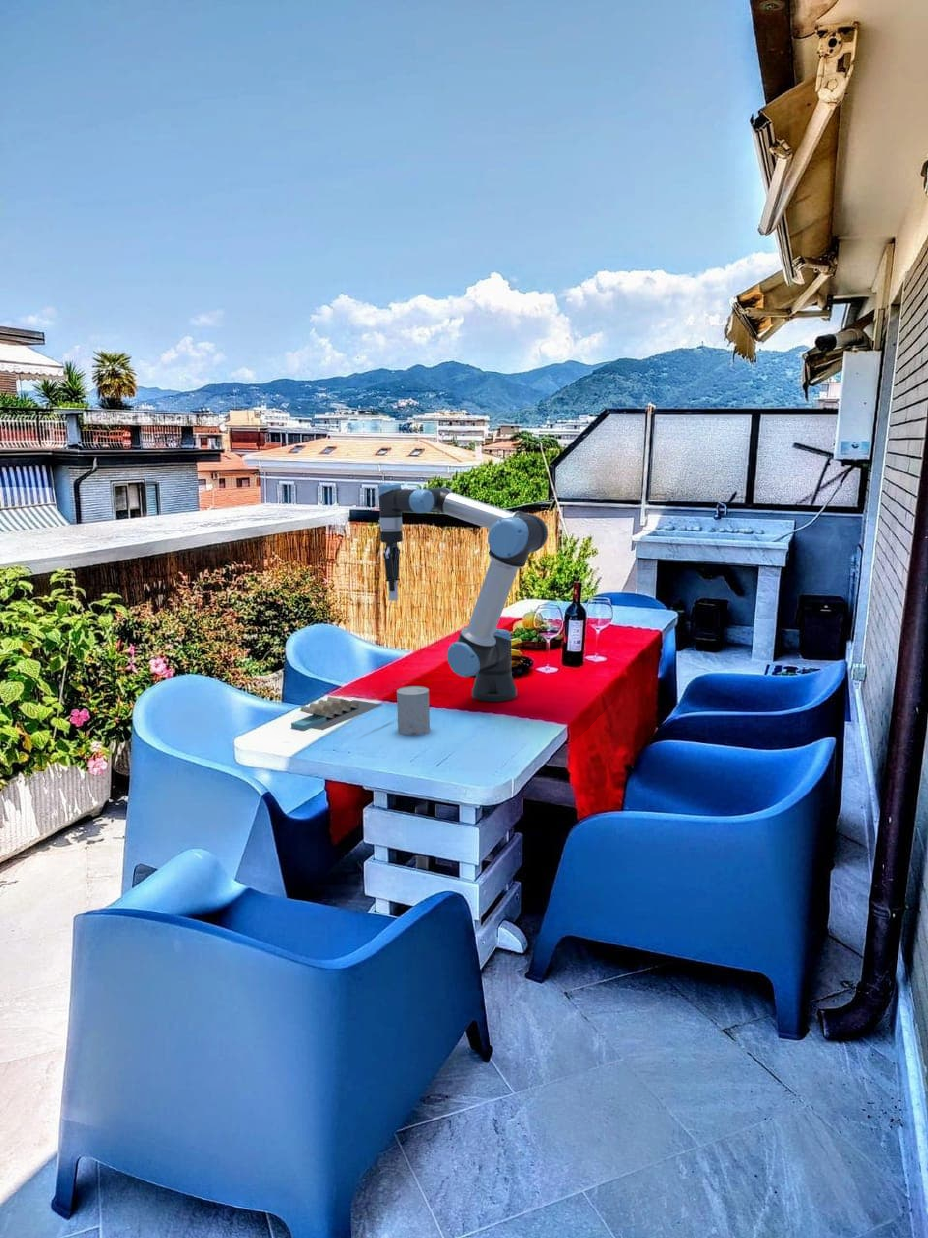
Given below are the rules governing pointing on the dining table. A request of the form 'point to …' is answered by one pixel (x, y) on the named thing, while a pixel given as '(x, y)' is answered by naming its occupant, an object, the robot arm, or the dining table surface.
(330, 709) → the domino
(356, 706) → the domino
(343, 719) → the mat
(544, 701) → the dining table surface
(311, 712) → the domino
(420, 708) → the grey flat-topped cylinder
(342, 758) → the dining table surface
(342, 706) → the domino
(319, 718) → the domino
